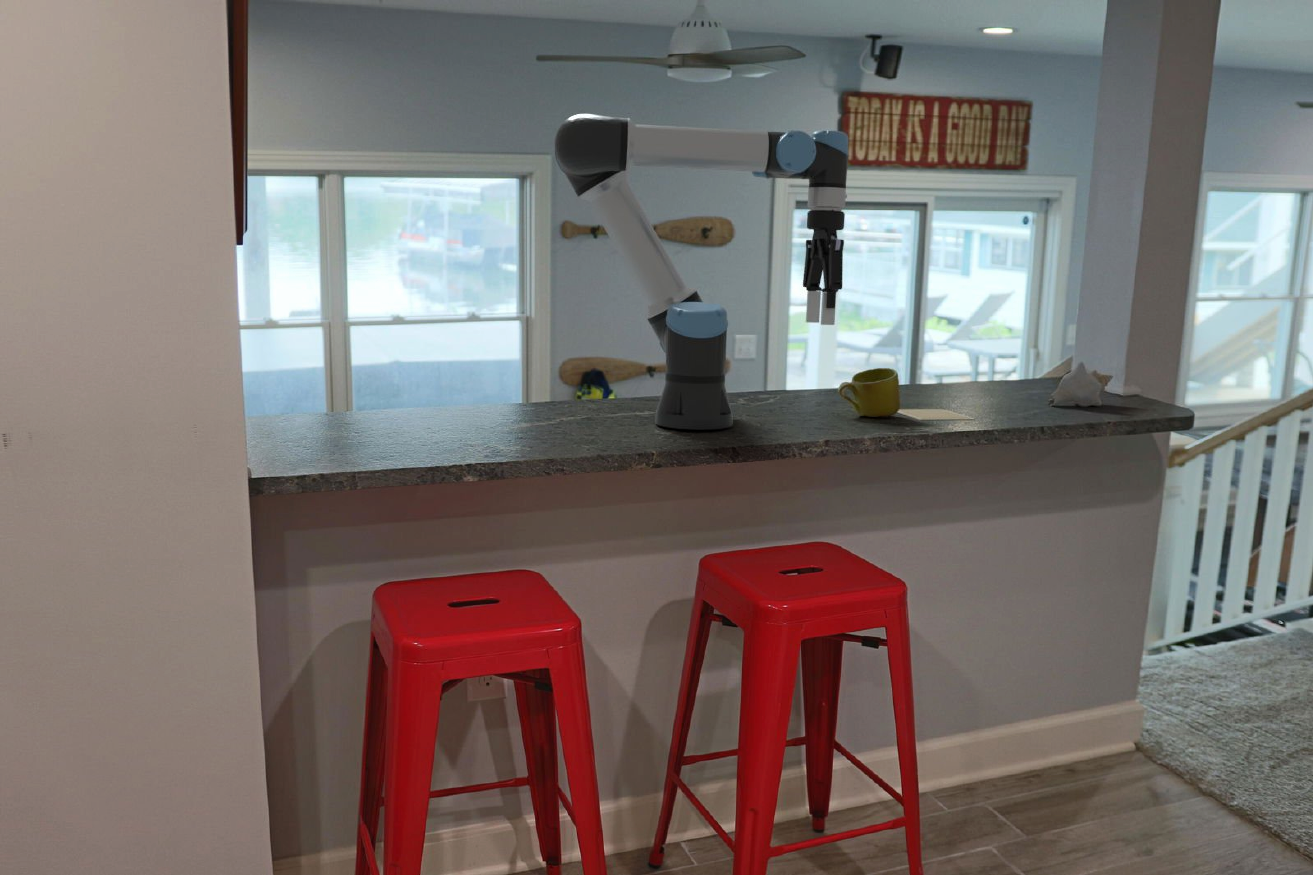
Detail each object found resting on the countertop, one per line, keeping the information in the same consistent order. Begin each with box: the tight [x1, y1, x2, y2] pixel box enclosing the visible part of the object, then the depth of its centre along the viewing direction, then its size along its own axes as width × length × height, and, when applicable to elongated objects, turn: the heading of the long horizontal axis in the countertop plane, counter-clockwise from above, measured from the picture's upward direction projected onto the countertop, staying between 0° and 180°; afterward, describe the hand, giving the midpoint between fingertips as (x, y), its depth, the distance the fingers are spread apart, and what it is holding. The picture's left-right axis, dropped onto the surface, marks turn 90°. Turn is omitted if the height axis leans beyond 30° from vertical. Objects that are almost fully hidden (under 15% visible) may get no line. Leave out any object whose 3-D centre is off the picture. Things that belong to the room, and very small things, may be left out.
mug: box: [837, 367, 901, 418], centre depth 224 cm, size 12×10×10 cm
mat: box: [896, 408, 976, 421], centre depth 229 cm, size 12×14×1 cm
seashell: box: [1047, 360, 1114, 408], centre depth 246 cm, size 12×10×15 cm
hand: (819, 323), depth 228 cm, fingers open, 7 cm apart
